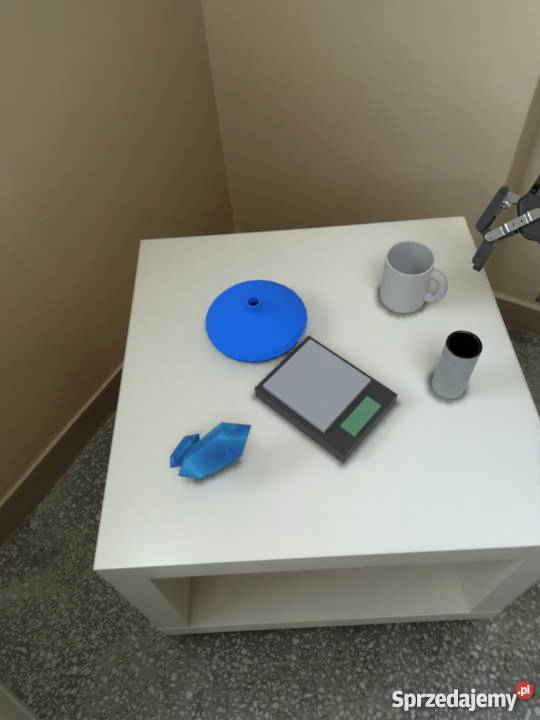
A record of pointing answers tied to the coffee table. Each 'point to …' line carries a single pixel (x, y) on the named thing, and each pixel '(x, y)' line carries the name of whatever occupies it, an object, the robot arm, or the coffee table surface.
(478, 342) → the grey cylindrical tube
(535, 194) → the robot arm
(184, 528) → the coffee table surface
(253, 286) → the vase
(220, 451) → the crystal
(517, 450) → the coffee table surface
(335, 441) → the scale
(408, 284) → the cup
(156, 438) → the coffee table surface
